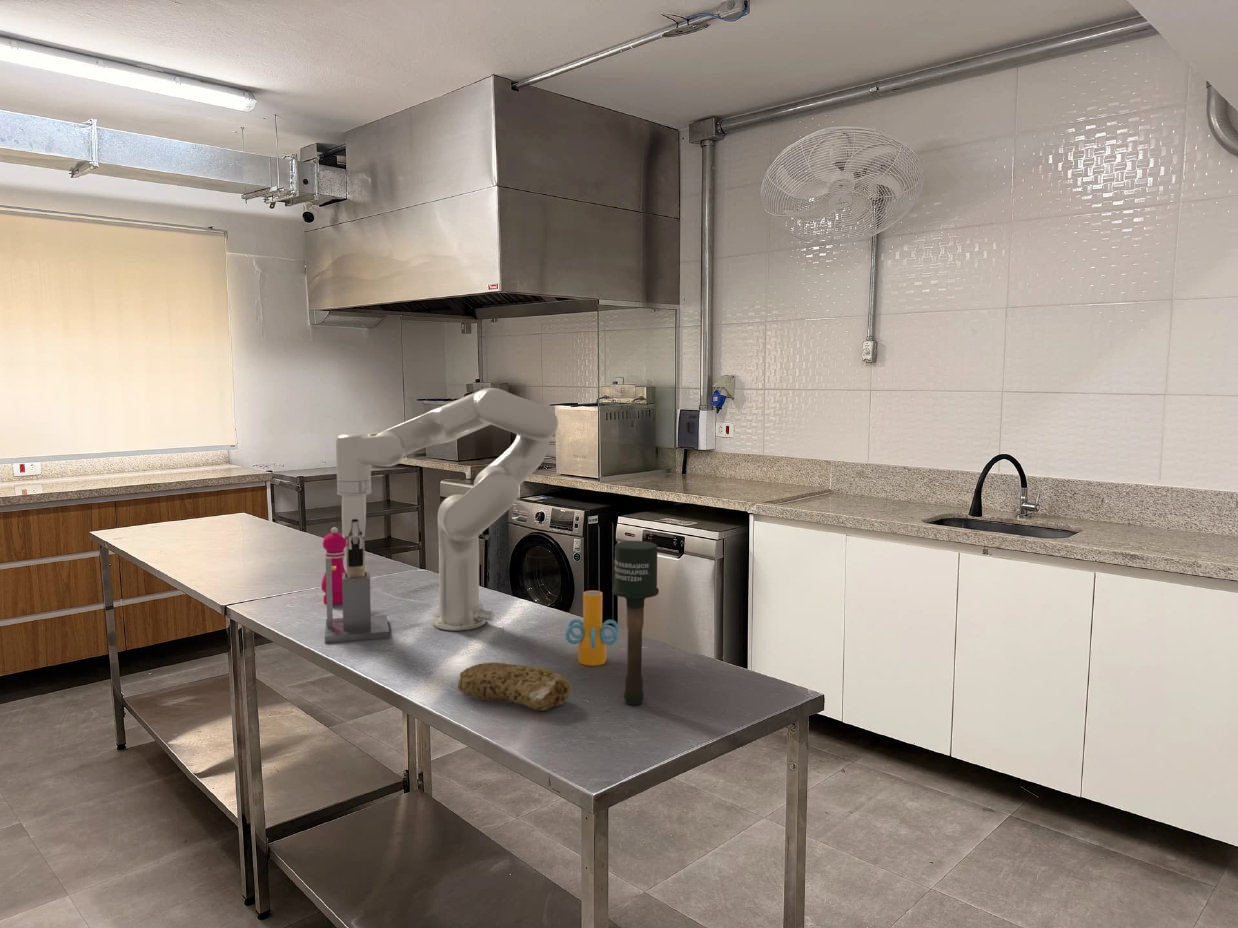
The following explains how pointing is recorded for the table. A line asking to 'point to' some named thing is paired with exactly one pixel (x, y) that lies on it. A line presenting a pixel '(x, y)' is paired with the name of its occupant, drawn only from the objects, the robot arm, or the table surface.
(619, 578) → the stick grenade
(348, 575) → the post
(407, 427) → the robot arm
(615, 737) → the table surface
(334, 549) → the pepper mill
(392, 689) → the table surface
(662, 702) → the table surface
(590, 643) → the orange tube with rings
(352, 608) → the grey socket stand
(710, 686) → the table surface
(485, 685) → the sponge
